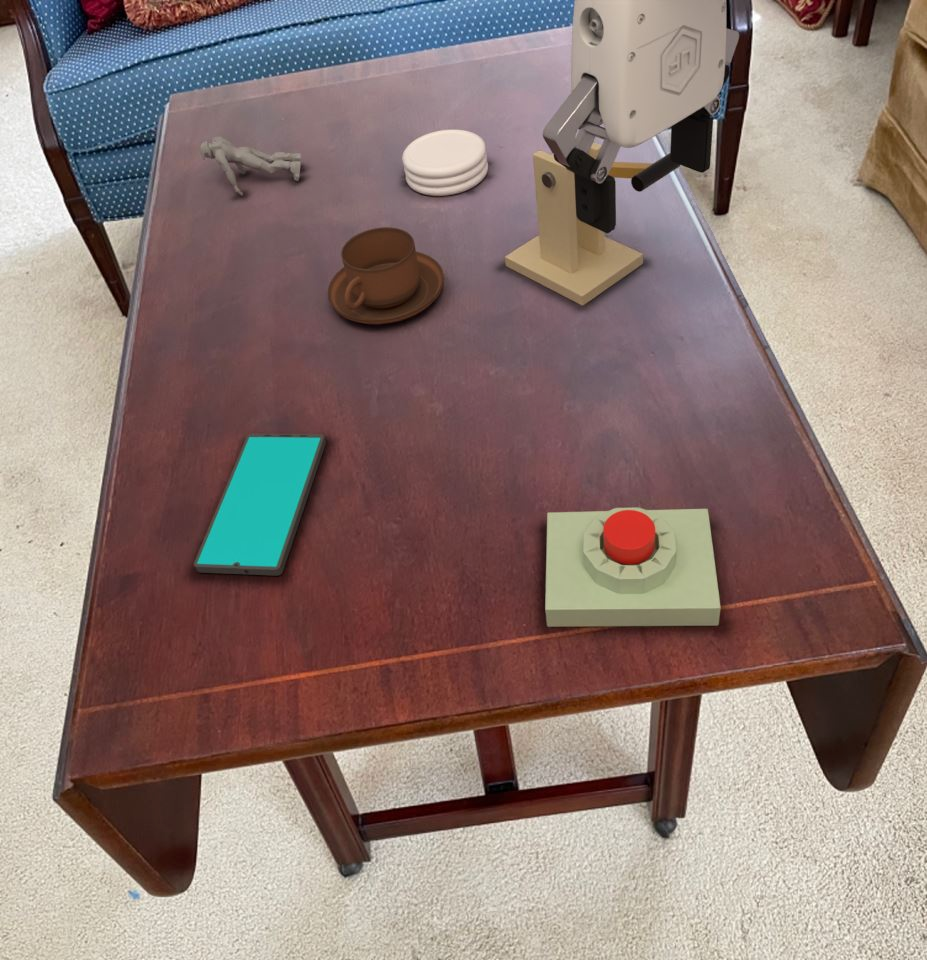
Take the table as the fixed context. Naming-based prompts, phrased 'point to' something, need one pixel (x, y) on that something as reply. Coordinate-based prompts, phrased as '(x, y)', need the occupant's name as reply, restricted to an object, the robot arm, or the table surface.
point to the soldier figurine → (248, 159)
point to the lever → (643, 171)
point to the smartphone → (261, 505)
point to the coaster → (445, 162)
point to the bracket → (569, 240)
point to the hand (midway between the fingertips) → (644, 194)
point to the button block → (631, 573)
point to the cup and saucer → (384, 278)
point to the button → (629, 537)
